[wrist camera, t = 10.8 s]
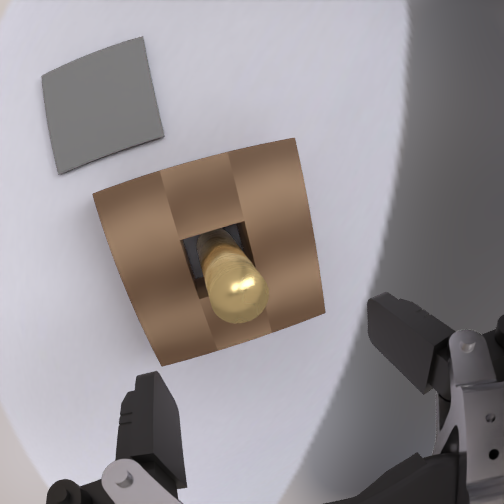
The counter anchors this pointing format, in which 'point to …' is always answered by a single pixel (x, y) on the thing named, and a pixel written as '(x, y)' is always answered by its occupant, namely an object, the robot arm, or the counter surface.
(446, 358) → the robot arm
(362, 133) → the counter surface
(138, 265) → the walnut block
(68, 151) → the rubber mat
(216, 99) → the counter surface
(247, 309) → the brass pin
